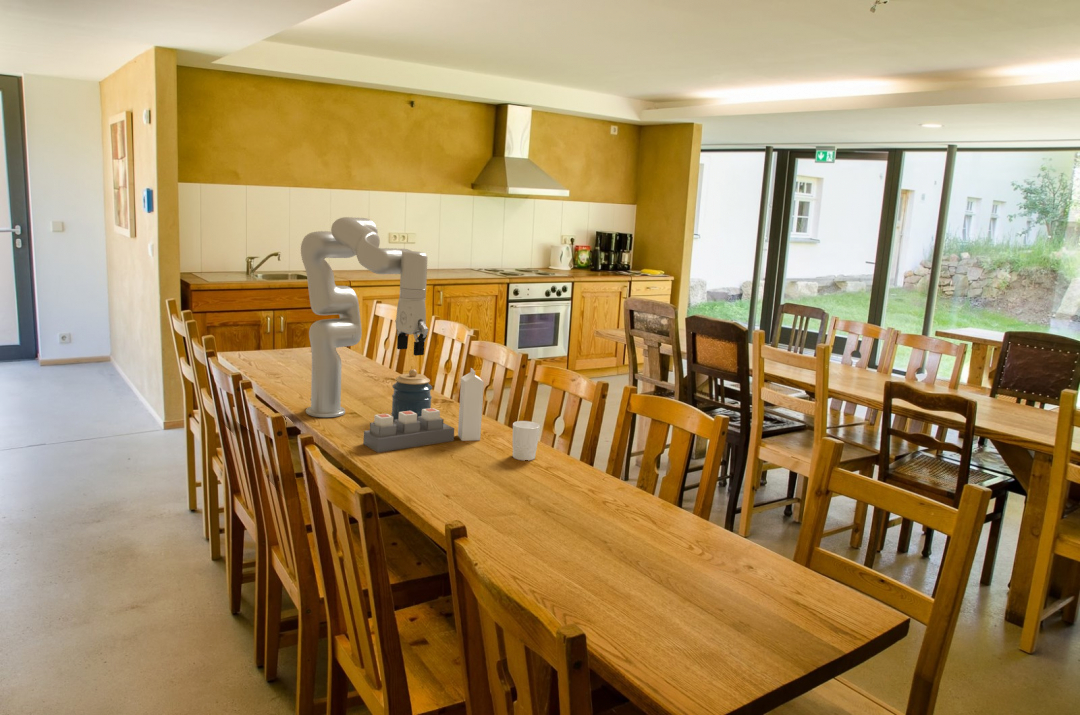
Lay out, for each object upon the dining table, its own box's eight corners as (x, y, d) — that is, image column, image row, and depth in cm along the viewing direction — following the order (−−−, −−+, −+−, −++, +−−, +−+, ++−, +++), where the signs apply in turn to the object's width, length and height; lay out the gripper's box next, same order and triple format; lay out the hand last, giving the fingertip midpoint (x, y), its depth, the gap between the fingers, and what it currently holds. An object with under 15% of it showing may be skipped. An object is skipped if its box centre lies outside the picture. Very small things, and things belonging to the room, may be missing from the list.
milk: (476, 435, 244) (480, 367, 240) (480, 440, 239) (485, 371, 235) (457, 435, 243) (461, 367, 239) (461, 440, 237) (465, 371, 233)
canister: (403, 428, 245) (405, 374, 242) (383, 418, 255) (385, 366, 252) (437, 423, 254) (440, 371, 250) (417, 414, 263) (420, 363, 260)
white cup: (540, 455, 229) (542, 423, 227) (532, 463, 221) (535, 429, 219) (515, 451, 231) (517, 419, 229) (507, 458, 223) (509, 425, 221)
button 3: (421, 418, 235) (421, 408, 235) (432, 417, 238) (433, 407, 237) (428, 422, 232) (428, 411, 232) (439, 420, 235) (439, 410, 234)
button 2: (398, 421, 230) (398, 411, 229) (409, 420, 233) (410, 410, 232) (404, 425, 227) (405, 414, 226) (416, 423, 230) (417, 413, 229)
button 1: (374, 424, 225) (374, 414, 224) (386, 423, 228) (386, 413, 227) (380, 428, 222) (381, 417, 221) (392, 426, 225) (393, 416, 224)
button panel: (363, 443, 227) (364, 421, 226) (438, 432, 243) (439, 412, 242) (377, 452, 220) (378, 429, 219) (453, 440, 237) (454, 419, 235)
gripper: (387, 290, 226) (384, 347, 230) (416, 298, 213) (413, 358, 216) (409, 290, 231) (407, 346, 234) (439, 298, 218) (436, 356, 221)
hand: (410, 352), depth 225 cm, fingers open, 9 cm apart
